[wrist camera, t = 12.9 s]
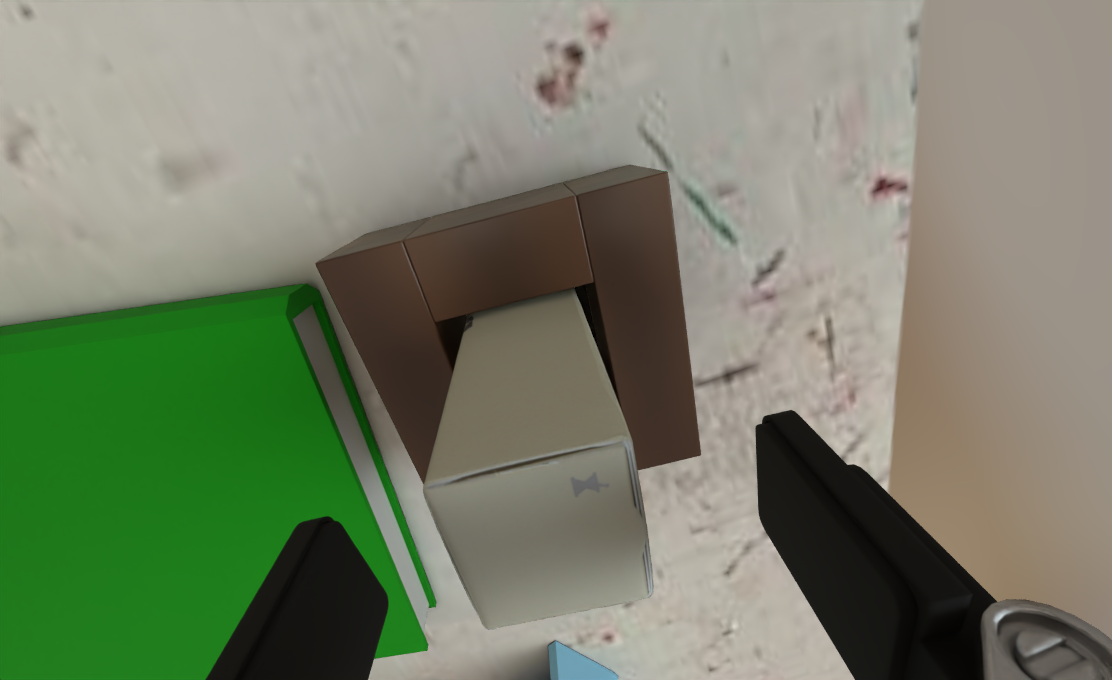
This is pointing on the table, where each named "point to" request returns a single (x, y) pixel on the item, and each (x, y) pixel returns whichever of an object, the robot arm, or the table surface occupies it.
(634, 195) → the brown frame
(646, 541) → the box
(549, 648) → the vase
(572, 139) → the table surface
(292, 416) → the book
